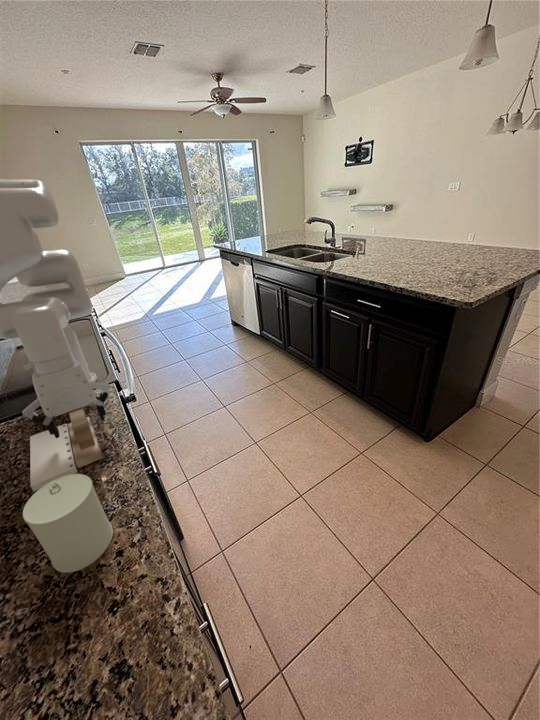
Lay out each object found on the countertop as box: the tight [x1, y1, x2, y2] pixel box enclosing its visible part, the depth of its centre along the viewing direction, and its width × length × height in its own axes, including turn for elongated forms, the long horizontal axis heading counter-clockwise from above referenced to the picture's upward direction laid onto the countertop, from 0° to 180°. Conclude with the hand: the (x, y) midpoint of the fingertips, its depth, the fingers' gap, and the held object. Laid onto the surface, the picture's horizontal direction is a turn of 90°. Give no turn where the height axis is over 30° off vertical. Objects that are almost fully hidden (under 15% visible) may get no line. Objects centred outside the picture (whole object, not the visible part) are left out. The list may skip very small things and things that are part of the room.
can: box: [22, 473, 114, 574], centre depth 49 cm, size 9×9×12 cm
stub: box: [67, 408, 103, 469], centre depth 73 cm, size 18×5×6 cm, turn 37°
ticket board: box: [29, 423, 78, 493], centre depth 71 cm, size 20×8×2 cm, turn 37°
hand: (80, 426), depth 72 cm, fingers open, 9 cm apart
